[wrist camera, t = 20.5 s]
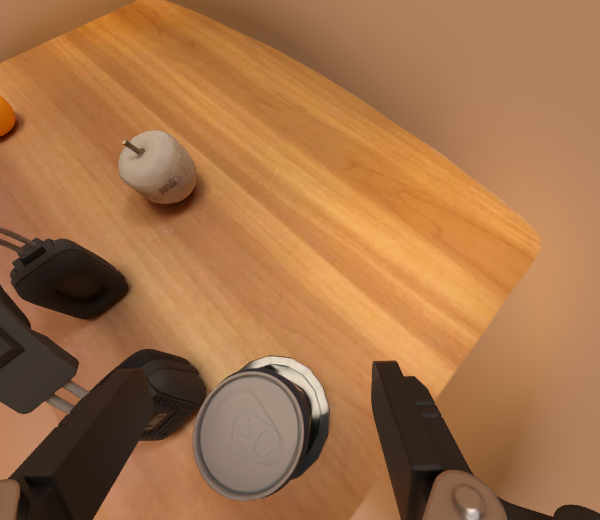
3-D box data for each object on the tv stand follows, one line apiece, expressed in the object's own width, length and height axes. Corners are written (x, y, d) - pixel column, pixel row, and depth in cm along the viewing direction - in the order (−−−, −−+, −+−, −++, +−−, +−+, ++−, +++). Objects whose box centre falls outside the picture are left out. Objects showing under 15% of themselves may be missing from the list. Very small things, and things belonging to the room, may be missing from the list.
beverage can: (323, 405, 28) (332, 414, 15) (286, 467, 26) (257, 544, 13) (274, 366, 30) (240, 343, 16) (235, 422, 28) (161, 448, 14)
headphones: (219, 394, 30) (73, 394, 12) (168, 444, 28) (-93, 534, 10) (114, 260, 37) (-76, 134, 19) (68, 294, 36) (-187, 190, 17)
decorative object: (217, 182, 42) (190, 124, 33) (179, 227, 39) (138, 177, 30) (171, 161, 44) (135, 101, 35) (131, 202, 41) (80, 148, 32)
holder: (342, 390, 30) (347, 389, 25) (298, 490, 26) (294, 512, 21) (264, 346, 32) (255, 337, 27) (215, 432, 28) (194, 440, 23)
